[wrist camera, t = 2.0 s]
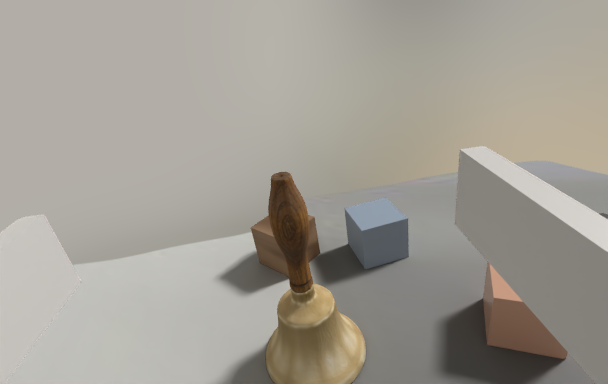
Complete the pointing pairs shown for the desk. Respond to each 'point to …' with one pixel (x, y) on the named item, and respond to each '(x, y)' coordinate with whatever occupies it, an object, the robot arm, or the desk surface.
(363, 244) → the slate-blue block
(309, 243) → the walnut block
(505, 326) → the terracotta block
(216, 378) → the desk surface
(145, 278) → the desk surface
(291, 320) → the hand bell
